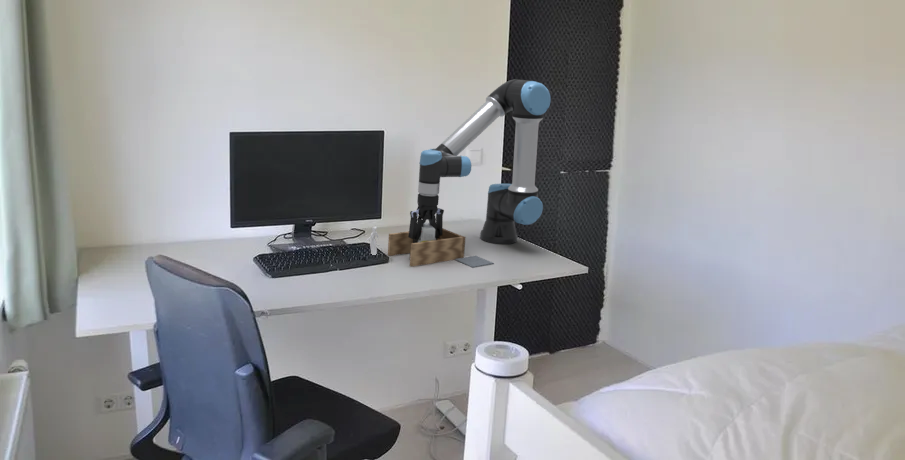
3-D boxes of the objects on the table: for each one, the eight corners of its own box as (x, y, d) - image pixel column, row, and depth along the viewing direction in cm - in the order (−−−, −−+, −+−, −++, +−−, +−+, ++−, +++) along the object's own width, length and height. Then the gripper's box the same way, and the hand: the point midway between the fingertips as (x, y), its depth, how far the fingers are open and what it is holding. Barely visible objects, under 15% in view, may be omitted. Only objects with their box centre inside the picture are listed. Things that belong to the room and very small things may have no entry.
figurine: (371, 252, 259) (372, 221, 256) (389, 258, 254) (391, 226, 251) (354, 257, 252) (355, 224, 249) (373, 263, 247) (374, 230, 244)
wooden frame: (439, 247, 273) (440, 227, 271) (463, 258, 261) (465, 237, 259) (387, 255, 258) (388, 233, 256) (411, 266, 247) (412, 244, 245)
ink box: (433, 260, 256) (436, 228, 253) (420, 260, 255) (422, 228, 252) (427, 253, 264) (429, 222, 261) (414, 253, 262) (416, 222, 259)
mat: (475, 256, 264) (475, 255, 264) (493, 264, 257) (493, 262, 257) (454, 260, 258) (455, 258, 258) (472, 267, 251) (472, 266, 251)
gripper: (443, 190, 262) (438, 249, 268) (400, 193, 250) (396, 256, 256) (455, 194, 257) (451, 255, 262) (412, 198, 245) (408, 261, 250)
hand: (424, 255), depth 259 cm, fingers closed on ink box, 6 cm apart
